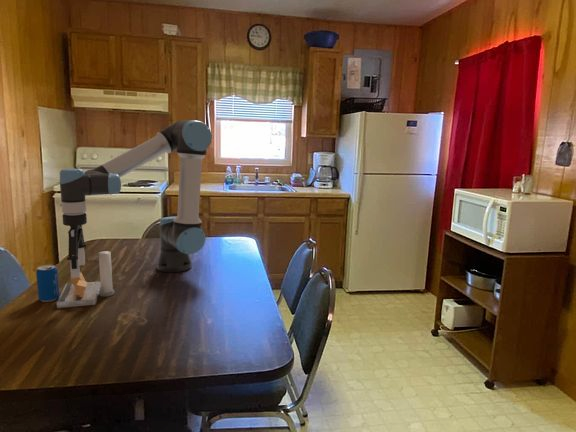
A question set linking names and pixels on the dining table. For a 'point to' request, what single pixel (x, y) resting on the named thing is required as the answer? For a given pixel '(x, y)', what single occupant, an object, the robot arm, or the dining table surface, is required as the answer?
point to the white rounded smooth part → (105, 274)
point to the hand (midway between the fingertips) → (78, 271)
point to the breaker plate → (87, 299)
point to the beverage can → (47, 283)
